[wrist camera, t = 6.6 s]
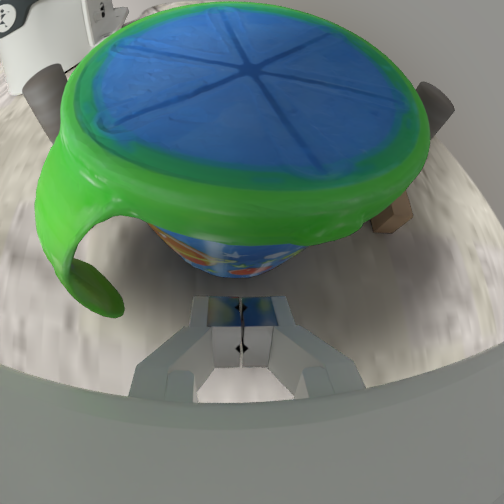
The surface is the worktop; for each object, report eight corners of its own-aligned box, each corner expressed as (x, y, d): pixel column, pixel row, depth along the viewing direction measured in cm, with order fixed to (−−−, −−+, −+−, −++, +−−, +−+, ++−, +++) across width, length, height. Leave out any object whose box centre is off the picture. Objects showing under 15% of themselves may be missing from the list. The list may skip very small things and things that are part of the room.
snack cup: (272, 110, 18) (301, -11, 9) (378, 210, 16) (477, 105, 7) (79, 227, 14) (-19, 110, 4) (179, 382, 12) (79, 459, 2)
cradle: (94, 117, 17) (64, 38, 9) (374, 127, 19) (417, 56, 12) (55, 228, 14) (-19, 155, 6) (407, 234, 16) (489, 171, 9)
